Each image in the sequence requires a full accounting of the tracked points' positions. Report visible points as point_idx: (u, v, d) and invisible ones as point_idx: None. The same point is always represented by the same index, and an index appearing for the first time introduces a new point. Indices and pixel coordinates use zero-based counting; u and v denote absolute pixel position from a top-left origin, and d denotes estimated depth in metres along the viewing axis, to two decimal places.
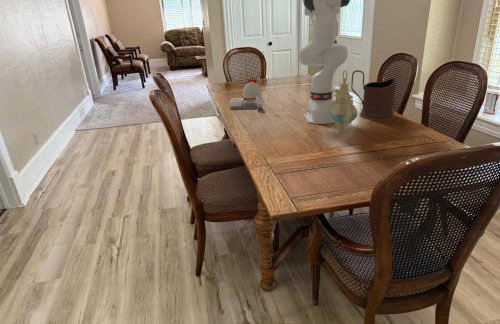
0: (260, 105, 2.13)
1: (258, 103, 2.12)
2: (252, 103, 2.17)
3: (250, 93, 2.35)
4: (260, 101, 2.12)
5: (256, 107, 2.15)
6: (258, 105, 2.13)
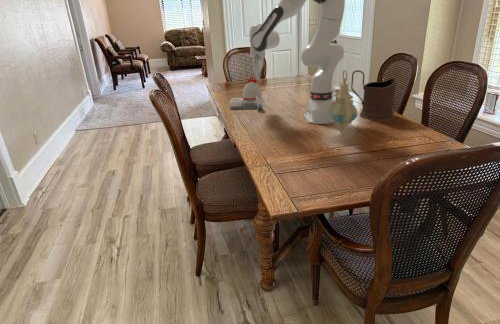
0: (260, 105, 2.13)
1: (258, 103, 2.12)
2: (252, 103, 2.17)
3: (250, 93, 2.35)
4: (260, 101, 2.12)
5: (256, 107, 2.15)
6: (258, 105, 2.13)
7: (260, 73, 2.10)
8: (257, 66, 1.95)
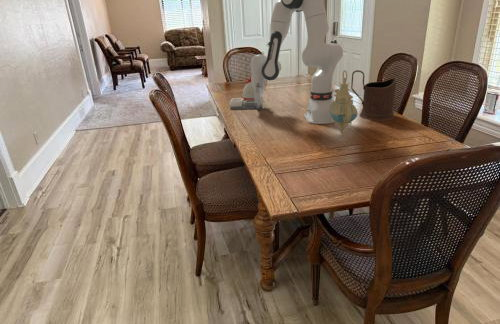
0: (260, 105, 2.13)
1: None
2: (252, 103, 2.17)
3: (250, 93, 2.35)
4: (260, 101, 2.12)
5: (256, 107, 2.15)
6: None
7: None
8: (258, 94, 2.02)
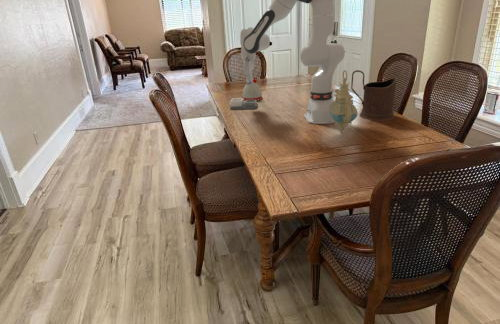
0: (250, 79, 2.13)
1: None
2: (252, 103, 2.17)
3: (250, 93, 2.35)
4: (250, 75, 2.12)
5: (246, 82, 2.15)
6: None
7: None
8: (247, 68, 2.02)
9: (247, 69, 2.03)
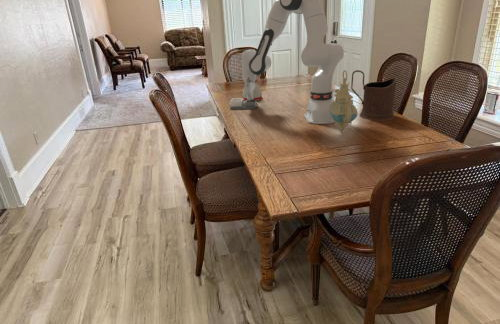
0: (251, 99, 2.18)
1: None
2: (252, 103, 2.17)
3: None
4: (251, 95, 2.17)
5: (247, 101, 2.20)
6: None
7: None
8: (249, 88, 2.07)
9: (248, 90, 2.08)
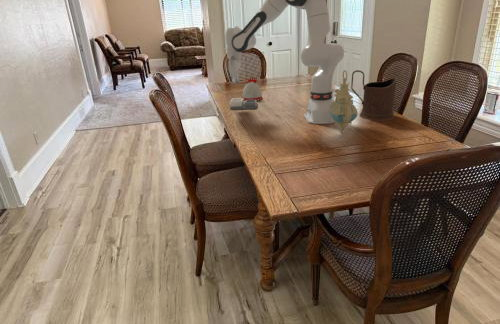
0: (236, 78, 2.14)
1: None
2: (252, 103, 2.17)
3: (250, 93, 2.35)
4: (236, 74, 2.13)
5: None
6: None
7: None
8: (233, 67, 2.03)
9: (232, 68, 2.04)
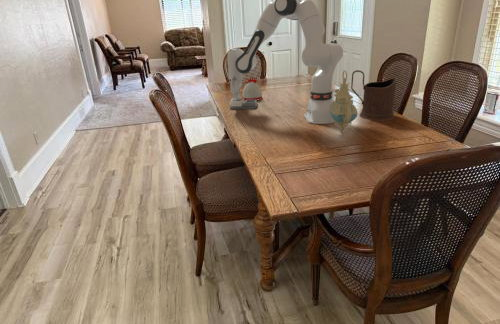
0: None
1: (235, 99, 2.19)
2: (252, 103, 2.17)
3: (250, 93, 2.35)
4: (237, 97, 2.19)
5: None
6: None
7: None
8: (234, 87, 2.08)
9: (234, 89, 2.09)
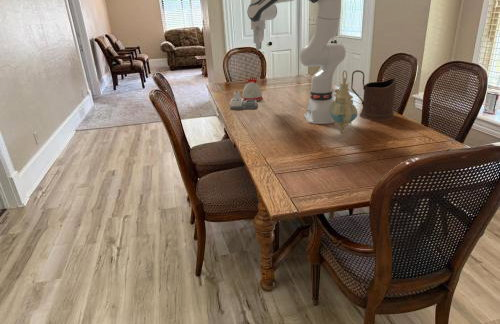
0: None
1: (235, 99, 2.19)
2: (252, 103, 2.17)
3: (250, 93, 2.35)
4: (237, 97, 2.19)
5: None
6: None
7: (260, 46, 2.18)
8: (258, 37, 2.03)
9: (257, 38, 2.03)
